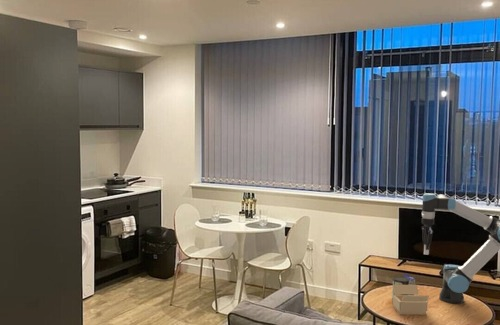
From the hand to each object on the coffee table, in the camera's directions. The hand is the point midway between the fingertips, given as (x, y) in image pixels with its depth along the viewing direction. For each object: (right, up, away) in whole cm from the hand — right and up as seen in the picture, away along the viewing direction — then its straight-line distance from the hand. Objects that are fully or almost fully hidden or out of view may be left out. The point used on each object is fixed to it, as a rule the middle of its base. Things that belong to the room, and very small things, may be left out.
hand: (426, 254), depth 318 cm
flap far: (-14, -21, -4) cm, 26 cm away
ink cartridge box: (-7, -31, +17) cm, 36 cm away
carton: (-14, -33, -11) cm, 38 cm away
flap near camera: (-14, -23, -20) cm, 33 cm away
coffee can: (-14, -32, +9) cm, 36 cm away
